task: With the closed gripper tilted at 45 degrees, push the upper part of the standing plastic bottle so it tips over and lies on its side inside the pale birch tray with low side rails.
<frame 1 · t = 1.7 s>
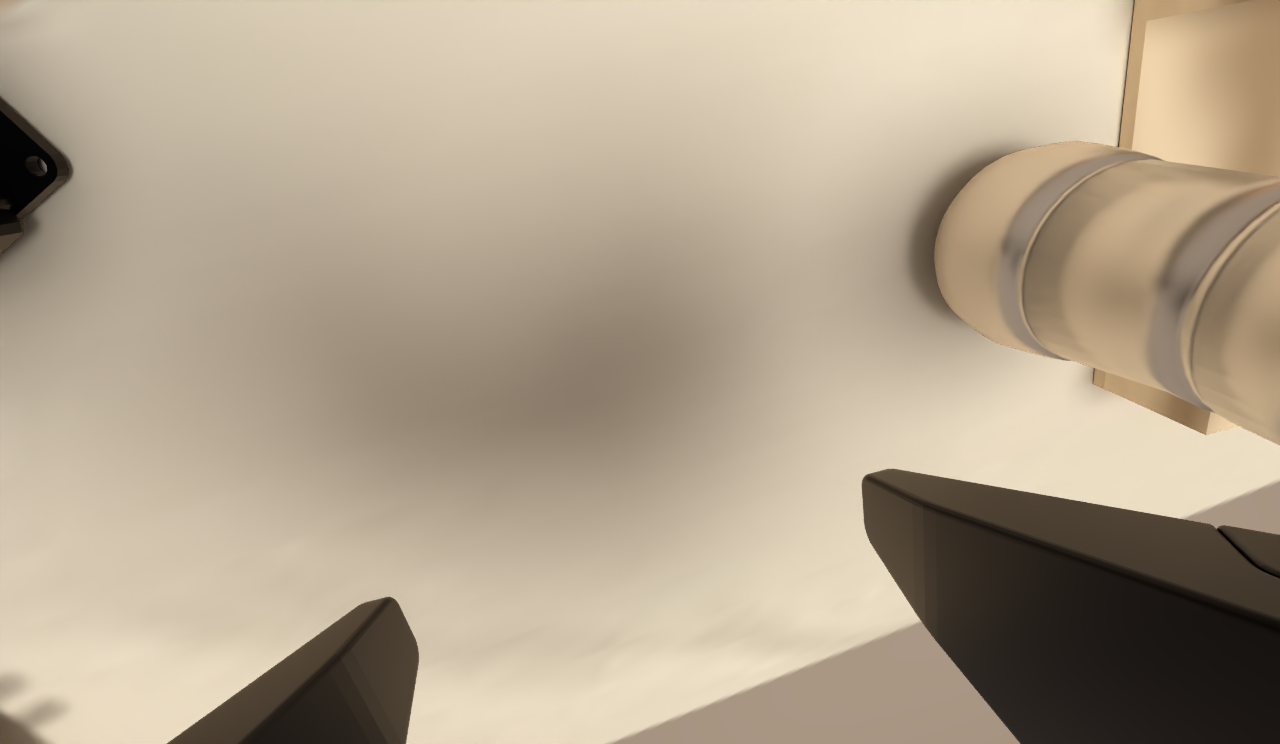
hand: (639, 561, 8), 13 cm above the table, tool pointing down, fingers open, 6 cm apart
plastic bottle: (991, 238, 21), on the table
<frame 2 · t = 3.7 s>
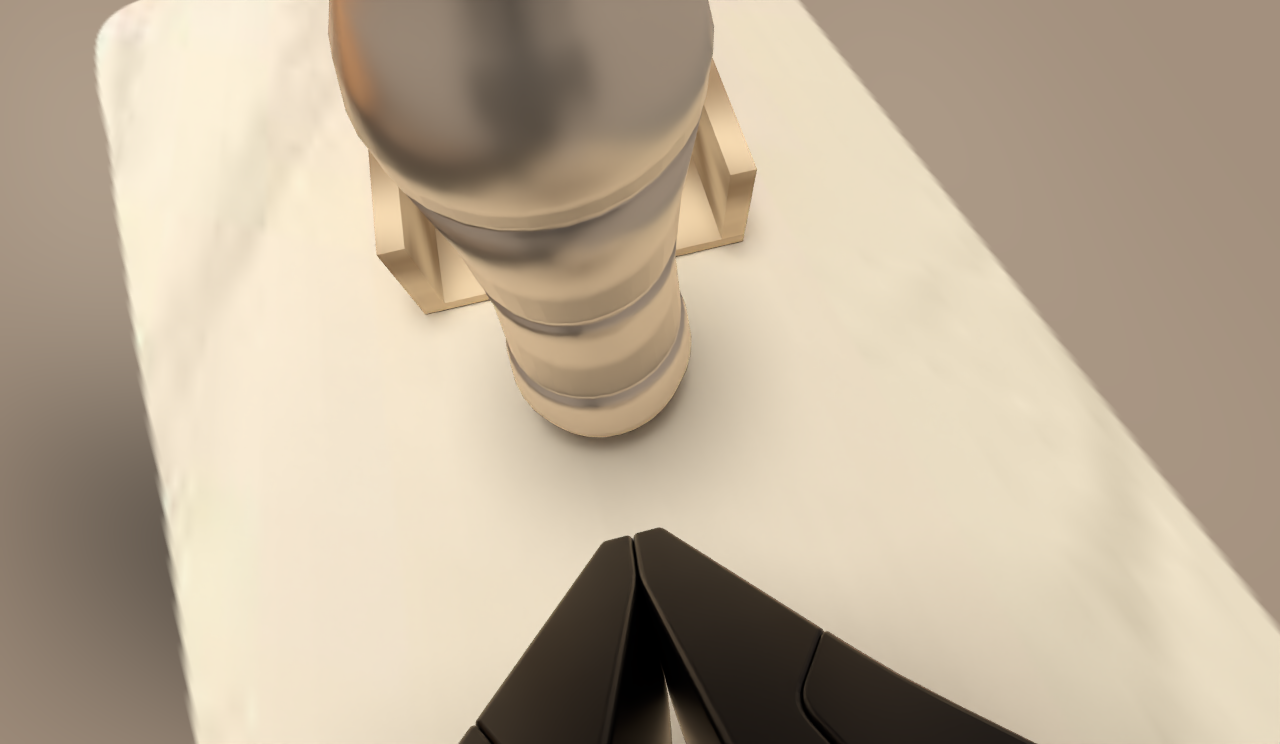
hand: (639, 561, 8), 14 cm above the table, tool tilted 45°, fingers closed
tray: (540, 86, 30), on the table
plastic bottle: (608, 372, 24), on the table
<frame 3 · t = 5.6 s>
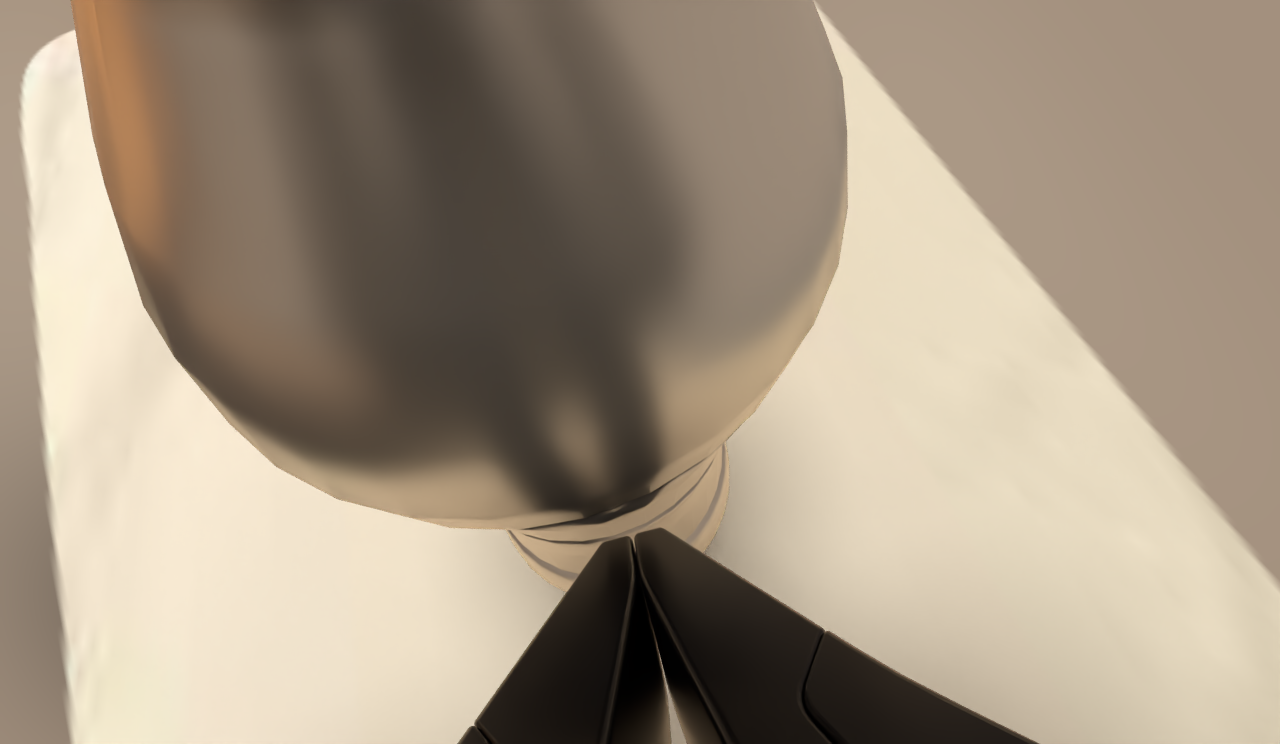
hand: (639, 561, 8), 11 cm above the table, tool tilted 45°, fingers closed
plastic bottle: (622, 495, 19), on the table, touching gripper
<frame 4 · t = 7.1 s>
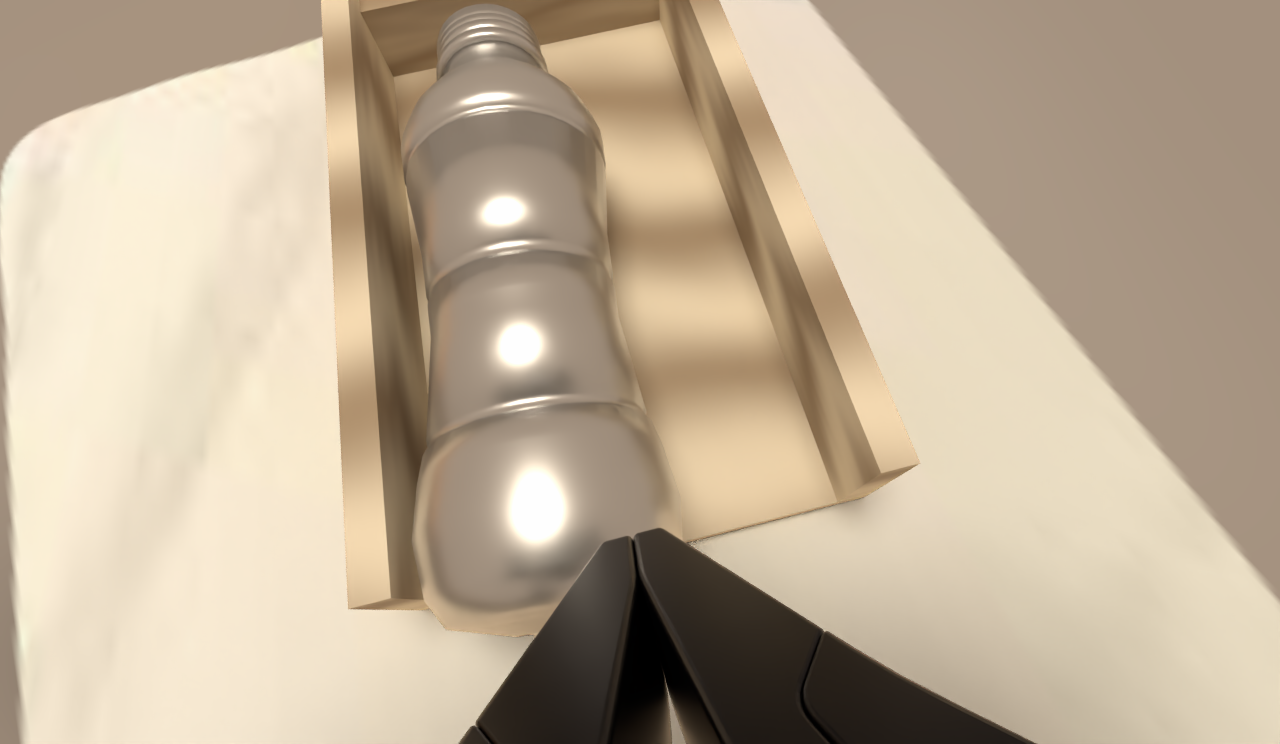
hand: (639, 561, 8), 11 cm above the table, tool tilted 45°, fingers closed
tray: (575, 248, 23), on the table
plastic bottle: (568, 641, 14), point 4 cm above the table, touching tray
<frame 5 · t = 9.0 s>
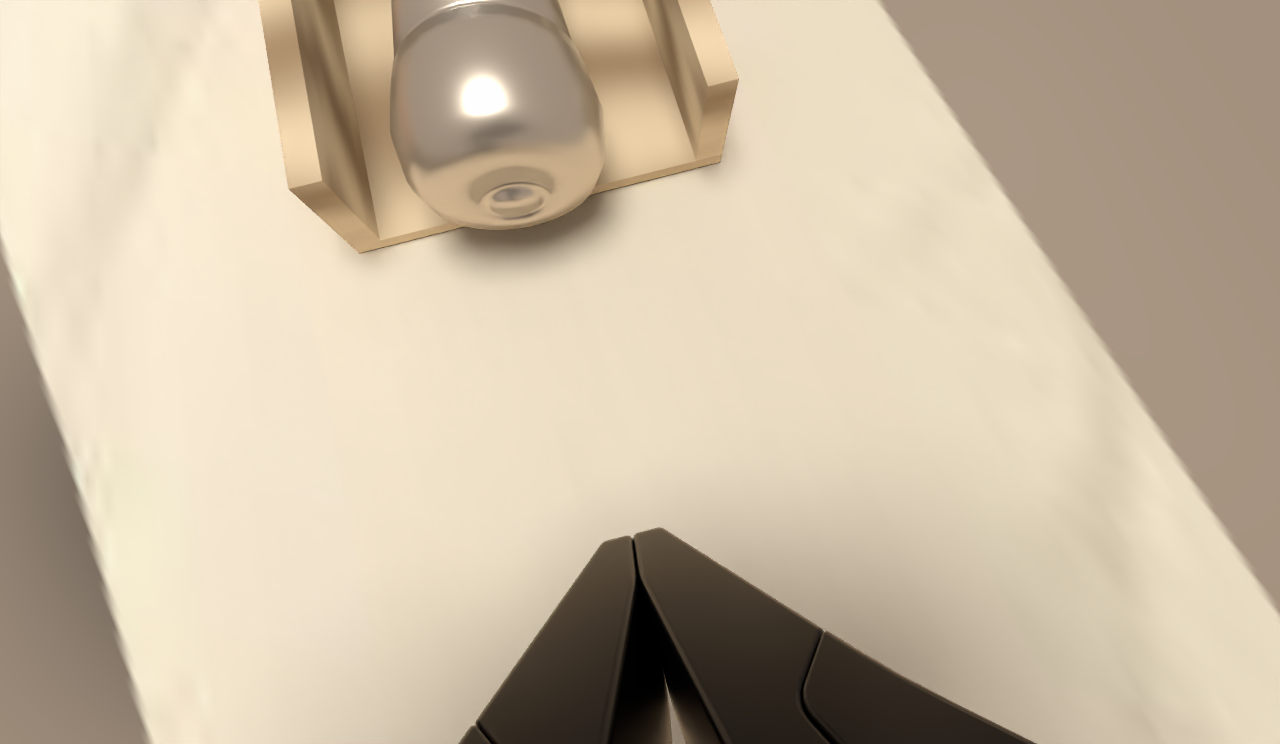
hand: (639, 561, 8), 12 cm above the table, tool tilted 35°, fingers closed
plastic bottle: (519, 211, 18), point 4 cm above the table, touching tray
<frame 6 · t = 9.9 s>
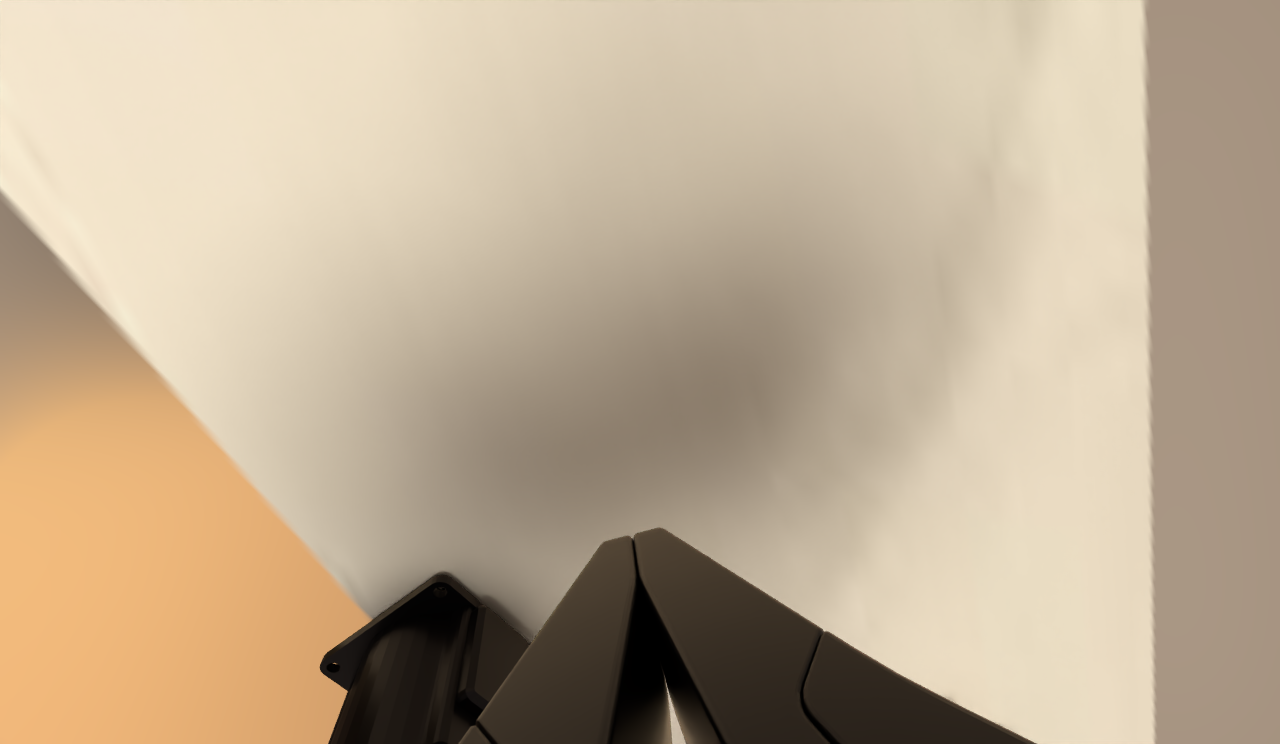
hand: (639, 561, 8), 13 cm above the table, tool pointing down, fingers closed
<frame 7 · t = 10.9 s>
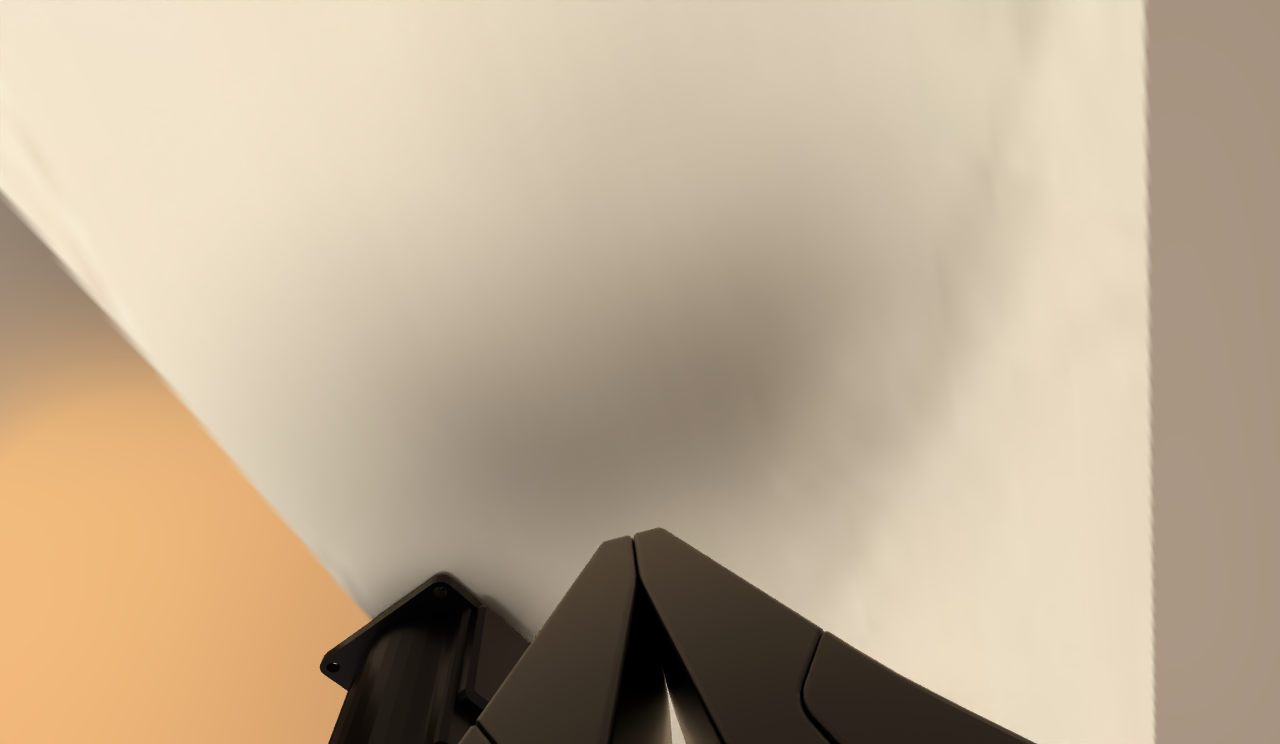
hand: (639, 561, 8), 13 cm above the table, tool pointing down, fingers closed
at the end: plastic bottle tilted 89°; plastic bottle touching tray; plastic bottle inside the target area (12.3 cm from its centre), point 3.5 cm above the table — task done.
